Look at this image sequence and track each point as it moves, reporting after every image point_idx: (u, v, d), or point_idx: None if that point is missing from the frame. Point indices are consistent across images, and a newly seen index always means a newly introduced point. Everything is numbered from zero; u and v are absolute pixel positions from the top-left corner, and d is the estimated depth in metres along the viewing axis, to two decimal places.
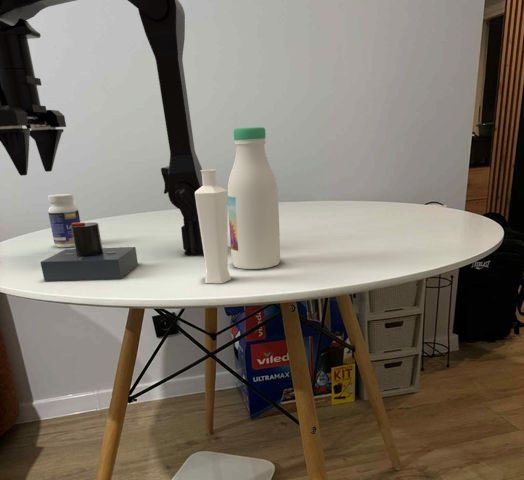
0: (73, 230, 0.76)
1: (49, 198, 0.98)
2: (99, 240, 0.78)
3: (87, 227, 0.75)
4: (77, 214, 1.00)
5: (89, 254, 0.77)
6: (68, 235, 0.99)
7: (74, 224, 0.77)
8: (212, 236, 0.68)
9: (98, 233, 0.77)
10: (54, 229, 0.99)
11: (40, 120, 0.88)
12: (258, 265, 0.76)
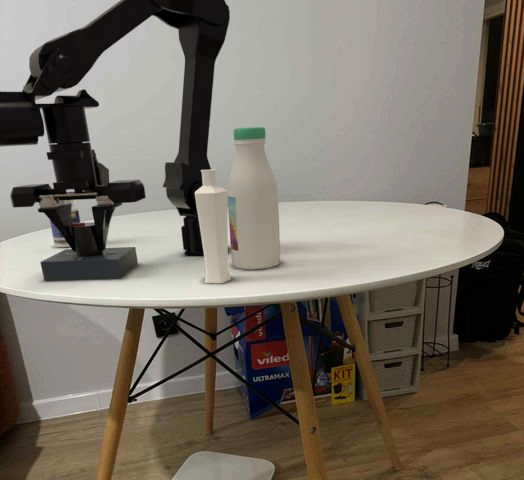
0: (73, 230, 0.76)
1: None
2: None
3: (87, 227, 0.75)
4: (77, 214, 1.00)
5: (89, 254, 0.77)
6: None
7: (74, 224, 0.77)
8: (212, 236, 0.68)
9: None
10: (54, 229, 0.99)
11: (107, 193, 0.74)
12: (258, 265, 0.76)
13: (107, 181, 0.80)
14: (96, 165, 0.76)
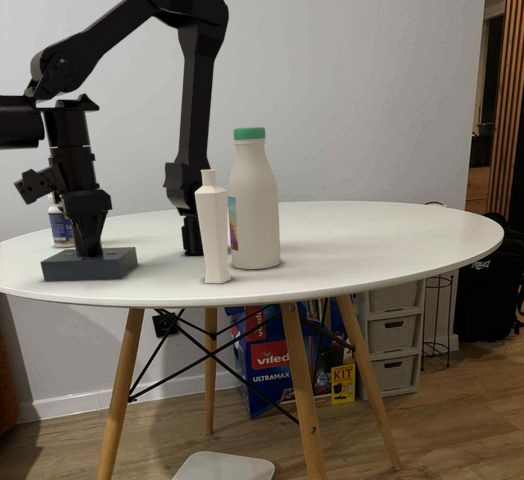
0: None
1: (49, 198, 0.98)
2: None
3: None
4: None
5: None
6: (68, 235, 0.99)
7: None
8: (212, 236, 0.68)
9: None
10: (54, 229, 0.99)
11: None
12: (258, 265, 0.76)
13: None
14: None
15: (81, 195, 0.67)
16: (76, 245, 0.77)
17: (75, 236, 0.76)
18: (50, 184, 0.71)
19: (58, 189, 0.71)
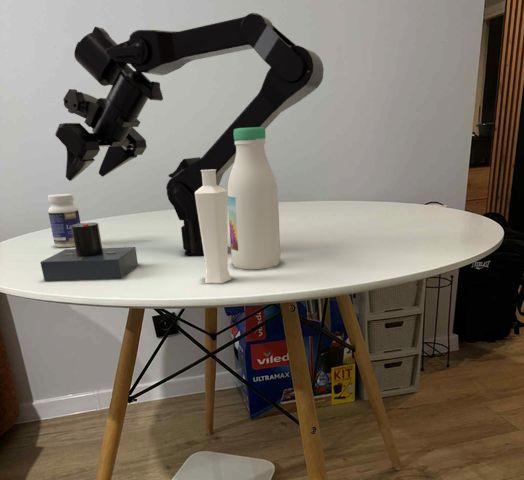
0: (96, 228, 0.77)
1: (49, 198, 0.98)
2: None
3: None
4: (77, 214, 1.00)
5: None
6: (68, 235, 0.99)
7: (88, 224, 0.76)
8: (212, 236, 0.68)
9: None
10: (54, 229, 0.99)
11: None
12: (258, 265, 0.76)
13: None
14: None
15: (68, 131, 0.81)
16: (76, 245, 0.77)
17: (75, 236, 0.76)
18: (84, 112, 0.85)
19: (86, 119, 0.86)
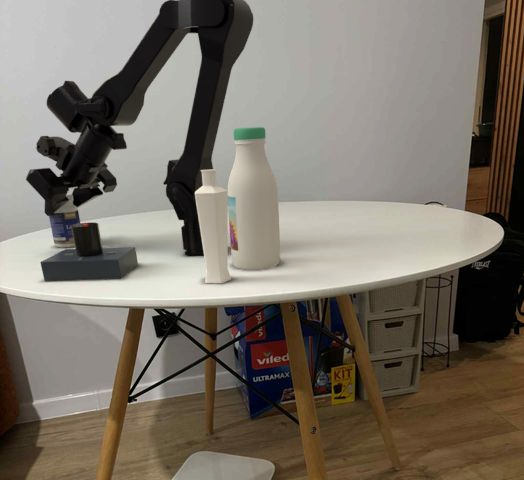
0: (96, 228, 0.77)
1: None
2: None
3: None
4: (77, 214, 1.00)
5: None
6: (68, 235, 0.99)
7: (88, 224, 0.76)
8: (212, 236, 0.68)
9: None
10: (54, 229, 0.99)
11: None
12: (258, 265, 0.76)
13: None
14: None
15: (37, 177, 0.88)
16: (76, 245, 0.77)
17: (75, 236, 0.76)
18: (55, 156, 0.93)
19: (57, 163, 0.93)
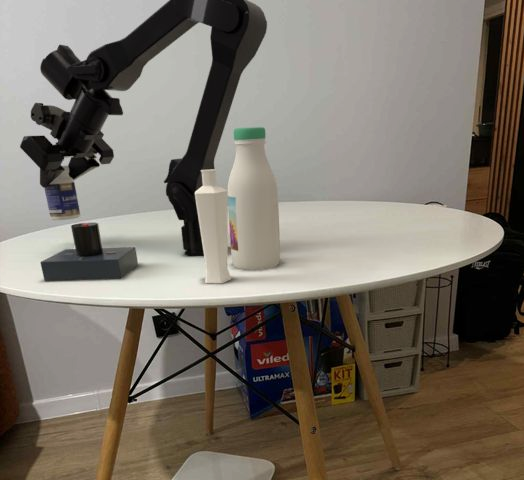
0: (96, 228, 0.77)
1: None
2: None
3: None
4: (73, 186, 0.98)
5: None
6: (64, 207, 0.97)
7: (88, 224, 0.76)
8: (212, 236, 0.68)
9: None
10: (50, 202, 0.97)
11: None
12: (258, 265, 0.76)
13: None
14: None
15: (31, 144, 0.86)
16: (76, 245, 0.77)
17: (75, 236, 0.76)
18: (50, 124, 0.90)
19: (51, 131, 0.91)
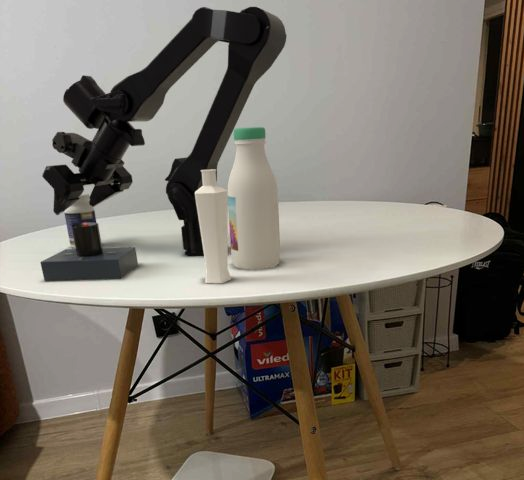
0: (96, 228, 0.77)
1: None
2: None
3: None
4: (93, 214, 0.99)
5: None
6: None
7: (88, 224, 0.76)
8: (212, 236, 0.68)
9: None
10: (71, 230, 0.98)
11: None
12: (258, 265, 0.76)
13: None
14: None
15: (54, 174, 0.86)
16: (76, 245, 0.77)
17: (75, 236, 0.76)
18: (72, 153, 0.91)
19: (73, 160, 0.91)
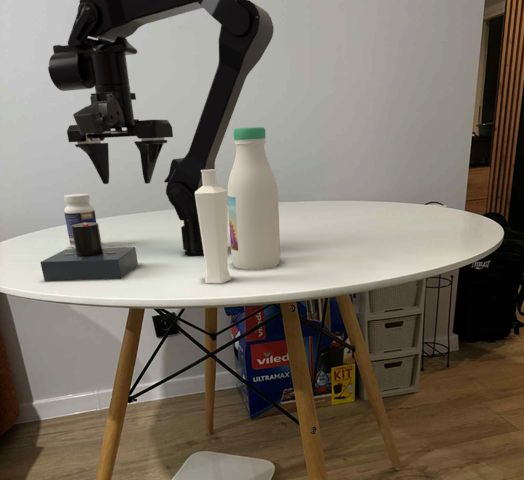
0: (96, 228, 0.77)
1: (65, 198, 0.96)
2: None
3: None
4: (93, 214, 0.99)
5: None
6: None
7: (88, 224, 0.76)
8: (212, 236, 0.68)
9: None
10: (71, 230, 0.98)
11: None
12: (258, 265, 0.76)
13: None
14: None
15: (160, 122, 0.83)
16: (76, 245, 0.77)
17: (75, 236, 0.76)
18: None
19: (120, 121, 0.83)
